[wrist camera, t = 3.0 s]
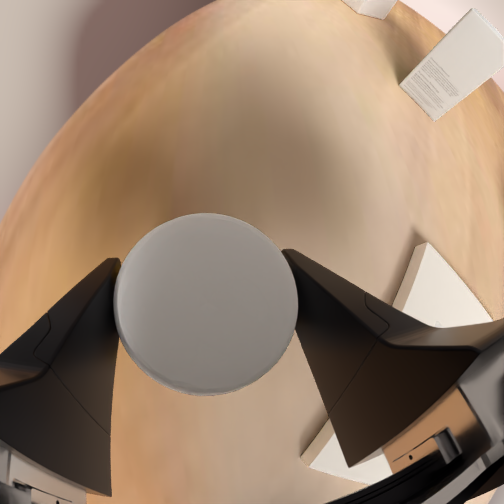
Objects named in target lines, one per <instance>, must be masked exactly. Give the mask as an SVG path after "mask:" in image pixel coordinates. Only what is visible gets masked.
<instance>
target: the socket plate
mask: <svg viewBox="0 0 504 504" xmlns="http://www.w3.org/2000/svg"><path fill="white" fill-rule="evenodd" d="M392 307H394V308H396V309H398V310H400V311H401V312H403V313H405V314H407V315H409V316H411V317H413V318H415V319H417V320H419V321H421V322H423V323H425V324H427V325H429V326H433V327H437V328H448V327H457V326H465V325H473V324H480V323H487V322H492V321H493V320H492V319H491V317H490V316H489V314H488V313H487V312H486V310H485V309H484V308H483V306H482V305H481V304H480V302H479V301H478V300H477V298H476V297H475V296H474V294H473V293H472V292H471V291H470V289H469V288H468V287H467V286H466V284H465V283H464V282H463V281H462V280H461V278H460V277H459V276H458V275H457V274H456V272H455V271H454V270H453V269H452V268H451V267H450V265H449V264H448V263H447V262H446V261H445V260H444V259H443V258H442V256H441V255H440V254H439V253H438V252H437V251H436V250H435V249H434V248H433V247H432V246H431V245H430V243H429V242H426V243H423V244H420V245H418V246H415V249H414V252H413V255H412V257H411V260H410V263H409V266H408V268H407V271H406V273H405V276H404V278H403V281H402V283H401V286H400V288H399V291H398V293H397V295H396V298H395V300H394V302H393V305H392ZM300 458H301V460H302V461H303V462H304V463H305V464H306V465H307V466H308V467H309V468H312V469H315V470H318V471H321V472H324V473H327V474H330V475H334V476H337V477H341V478H344V479H348V480H352V481H356V482H360V483H364V484H369V485H372V484H374V483H376V482H378V481H380V480H382V479H384V478H386V477H388V476H390V475H392V474H393V473H392V471H391V469H390V466H389V464H388V462H387V460H386V458H385V455H384V454H382V455H379V456H377V457H375V458H373V459H371V460H368V461H366V462H364V463H361V464H359V465H356V466H354V467H351V468H348V466H347V464H346V461H345V458H344V456H343V453H342V450H341V448H340V445H339V442H338V440H337V437H336V434H335V432H334V429H333V426H332V424H331V421H330V418H329V419H328V421H327V422H326V424H325V425H324V426H323V428H322V429H321V431H320V432H319V433H318V435H317V436H316V437H315V439H314V440H313V441H312V443H311V444H310V445H309V447H308V448H307V449H306V451H305V452H304V453H303V454H302V456H301V457H300Z"/></svg>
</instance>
